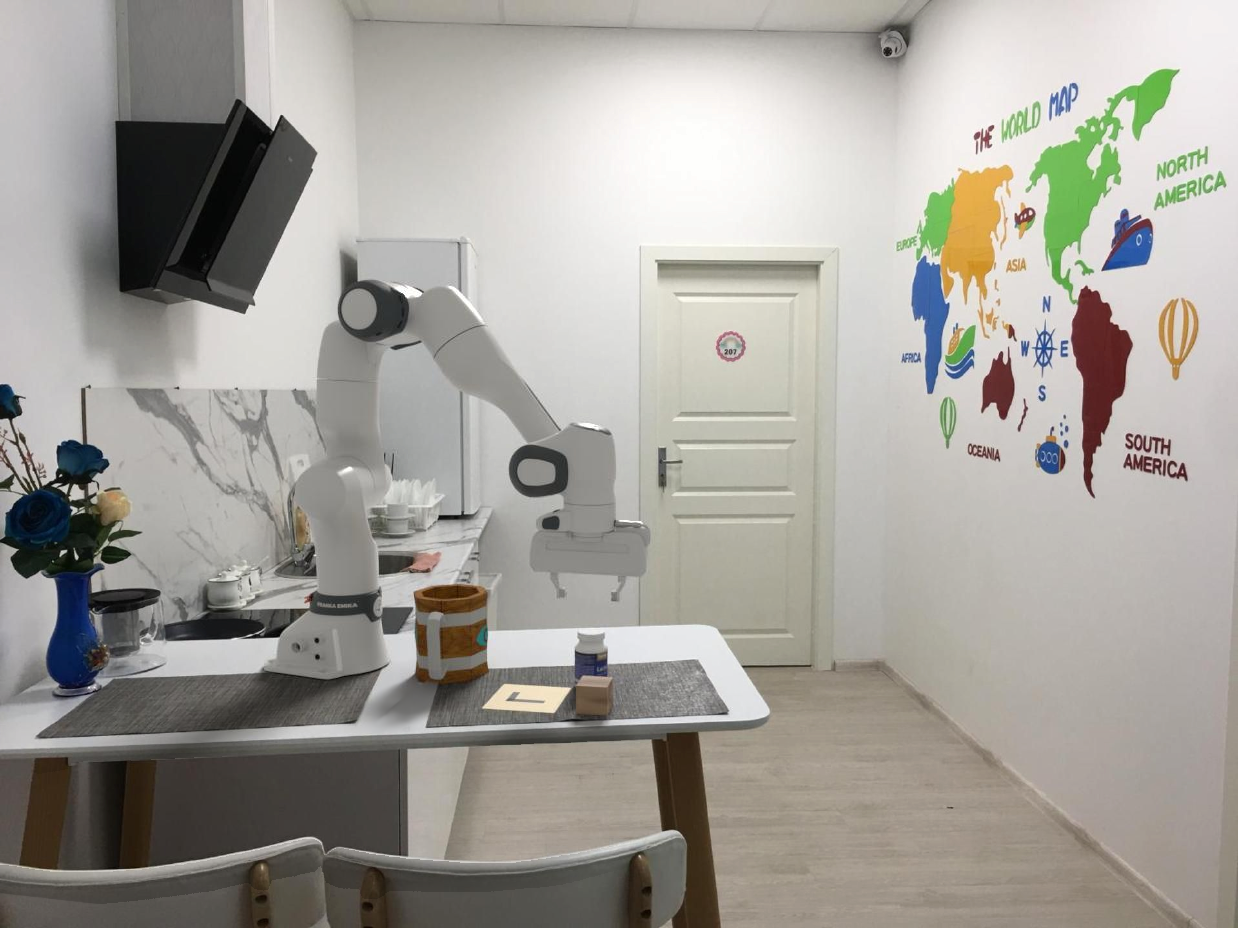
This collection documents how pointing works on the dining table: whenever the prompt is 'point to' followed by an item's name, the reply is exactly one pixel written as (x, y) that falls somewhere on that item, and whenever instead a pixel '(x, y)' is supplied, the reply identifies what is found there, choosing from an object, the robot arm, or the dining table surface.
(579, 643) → the pill bottle
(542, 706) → the letter card
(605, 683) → the walnut block
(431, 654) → the mug
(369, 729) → the dining table surface
